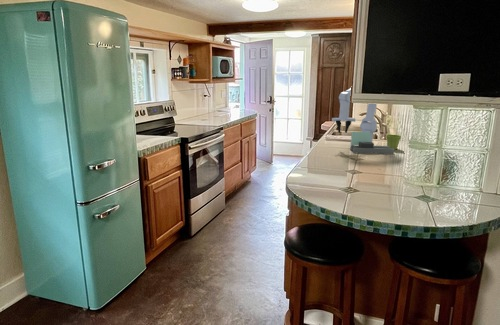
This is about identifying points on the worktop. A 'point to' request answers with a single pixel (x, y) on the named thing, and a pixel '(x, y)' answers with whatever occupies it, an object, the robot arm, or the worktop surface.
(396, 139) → the plant pot
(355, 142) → the cover
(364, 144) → the block
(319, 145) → the worktop surface
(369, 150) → the grey frame
